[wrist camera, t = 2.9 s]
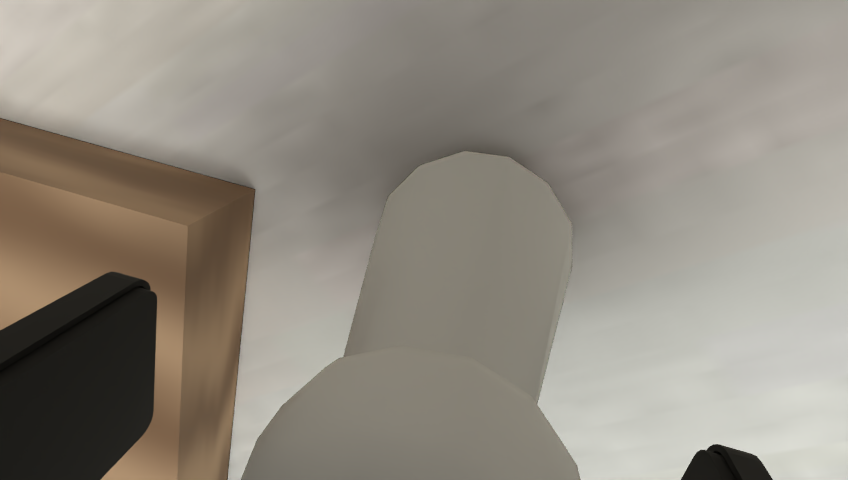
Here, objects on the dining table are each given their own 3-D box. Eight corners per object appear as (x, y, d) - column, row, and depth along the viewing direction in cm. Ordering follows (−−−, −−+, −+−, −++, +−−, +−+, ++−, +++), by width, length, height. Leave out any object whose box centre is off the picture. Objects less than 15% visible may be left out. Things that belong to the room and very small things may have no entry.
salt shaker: (596, 255, 17) (796, 779, 5) (451, 323, 19) (333, 821, 7) (509, 101, 15) (485, 291, 3) (363, 192, 17) (21, 516, 5)
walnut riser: (-89, 93, 19) (-234, 104, 15) (255, 189, 18) (187, 226, 14) (-33, 413, 25) (-127, 475, 22) (225, 498, 24) (172, 579, 20)
